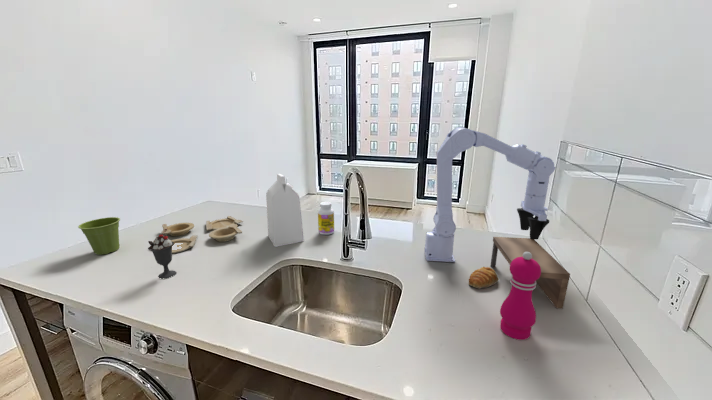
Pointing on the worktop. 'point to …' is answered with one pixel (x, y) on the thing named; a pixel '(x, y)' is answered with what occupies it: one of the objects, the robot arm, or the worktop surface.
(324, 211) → the supplement bottle
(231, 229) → the tableware set
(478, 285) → the pastry
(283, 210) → the milk
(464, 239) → the worktop surface
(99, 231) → the plant pot
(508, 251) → the walnut shelf
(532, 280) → the pepper mill
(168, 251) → the sundae
